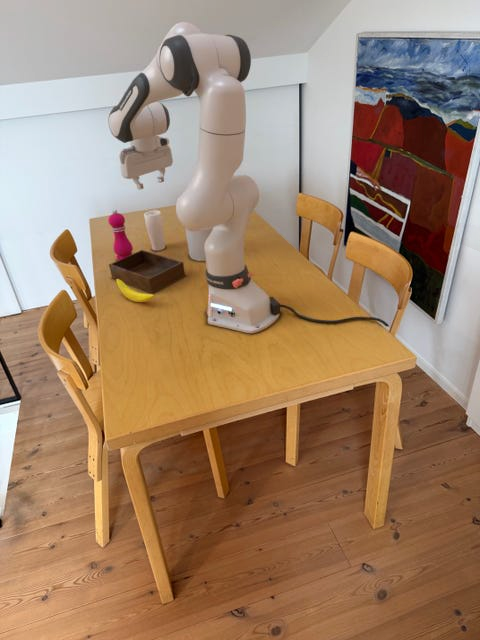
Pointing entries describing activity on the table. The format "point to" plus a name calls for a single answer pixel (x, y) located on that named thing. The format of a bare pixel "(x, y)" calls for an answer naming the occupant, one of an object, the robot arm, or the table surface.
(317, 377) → the table surface
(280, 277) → the table surface
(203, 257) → the utensil holder
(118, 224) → the pepper mill
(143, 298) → the banana
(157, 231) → the drinking glass
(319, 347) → the table surface
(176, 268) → the tray
